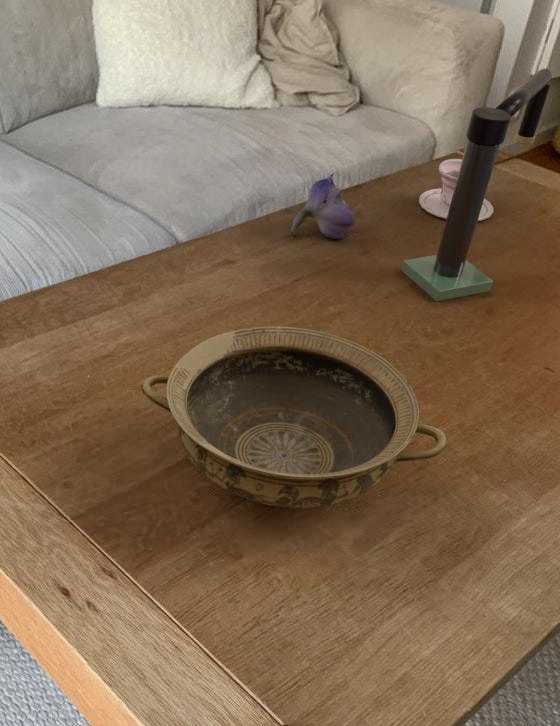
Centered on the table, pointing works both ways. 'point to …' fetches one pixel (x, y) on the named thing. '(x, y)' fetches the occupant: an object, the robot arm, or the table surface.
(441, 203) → the teacup
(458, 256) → the base
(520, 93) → the spout
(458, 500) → the table surface
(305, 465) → the ceramic bowl
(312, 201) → the flower
